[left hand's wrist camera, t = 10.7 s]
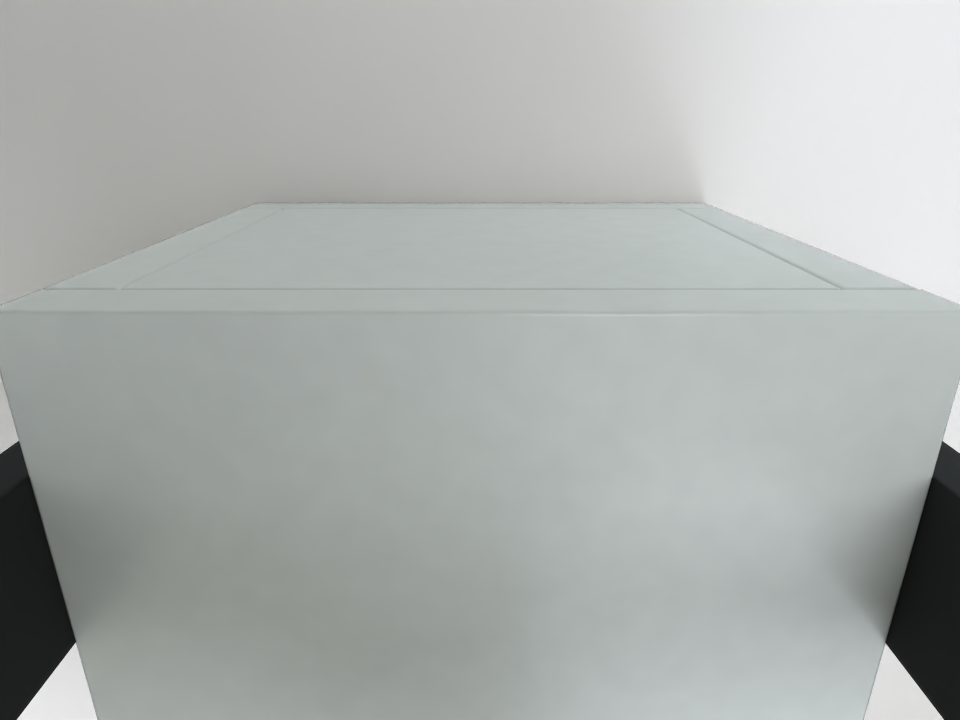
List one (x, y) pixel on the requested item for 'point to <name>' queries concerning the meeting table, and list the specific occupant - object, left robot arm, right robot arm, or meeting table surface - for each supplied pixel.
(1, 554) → the left robot arm
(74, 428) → the cabinet
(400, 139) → the meeting table surface
